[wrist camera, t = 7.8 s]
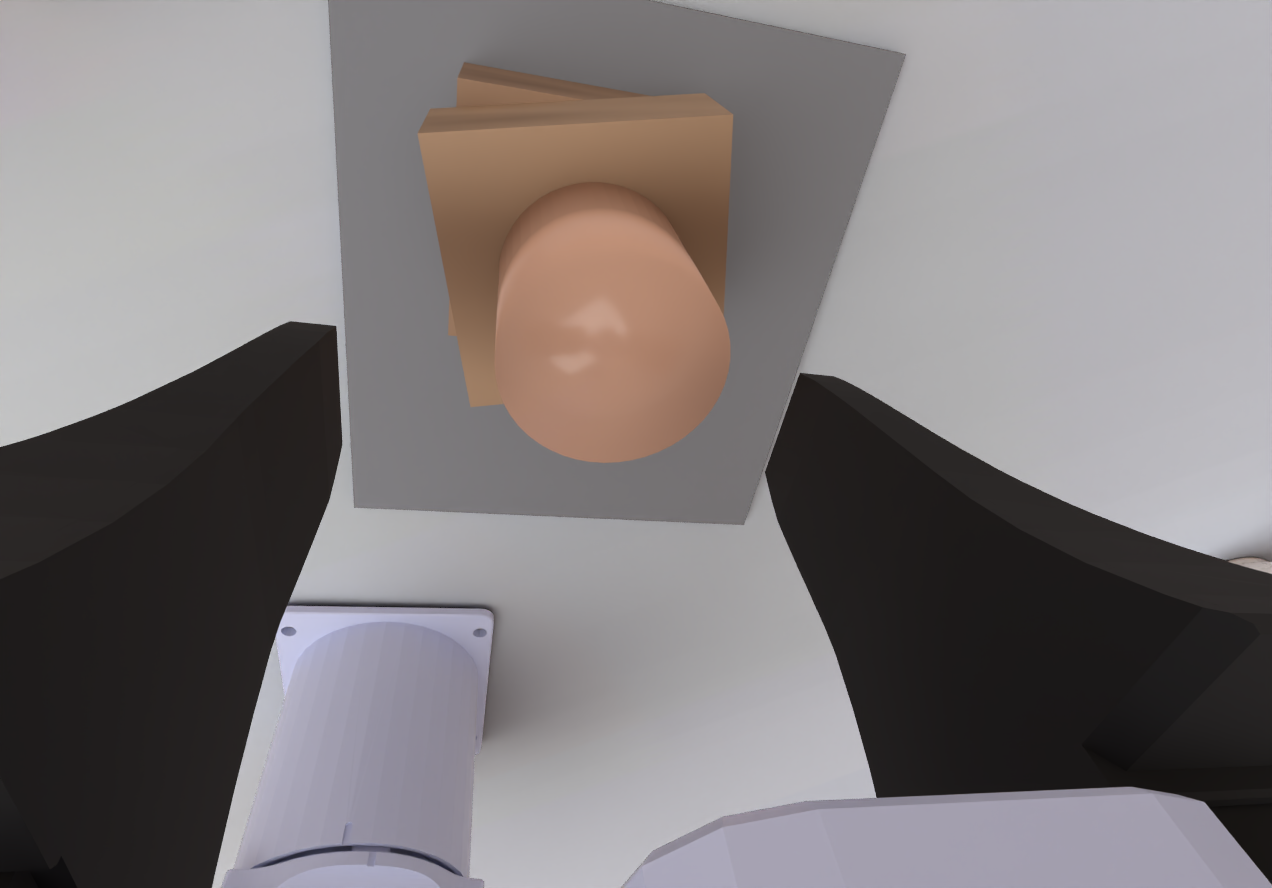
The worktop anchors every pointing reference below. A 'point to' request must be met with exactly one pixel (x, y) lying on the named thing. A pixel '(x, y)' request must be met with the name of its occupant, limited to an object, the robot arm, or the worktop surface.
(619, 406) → the peach rounded cylinder
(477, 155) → the walnut block upper
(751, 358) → the slate mat
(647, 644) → the worktop surface
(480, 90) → the walnut block lower
